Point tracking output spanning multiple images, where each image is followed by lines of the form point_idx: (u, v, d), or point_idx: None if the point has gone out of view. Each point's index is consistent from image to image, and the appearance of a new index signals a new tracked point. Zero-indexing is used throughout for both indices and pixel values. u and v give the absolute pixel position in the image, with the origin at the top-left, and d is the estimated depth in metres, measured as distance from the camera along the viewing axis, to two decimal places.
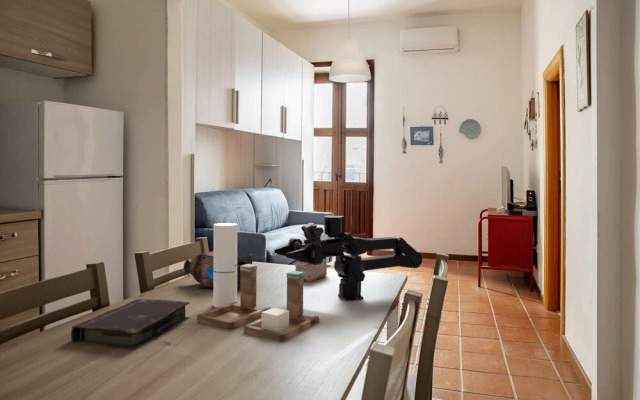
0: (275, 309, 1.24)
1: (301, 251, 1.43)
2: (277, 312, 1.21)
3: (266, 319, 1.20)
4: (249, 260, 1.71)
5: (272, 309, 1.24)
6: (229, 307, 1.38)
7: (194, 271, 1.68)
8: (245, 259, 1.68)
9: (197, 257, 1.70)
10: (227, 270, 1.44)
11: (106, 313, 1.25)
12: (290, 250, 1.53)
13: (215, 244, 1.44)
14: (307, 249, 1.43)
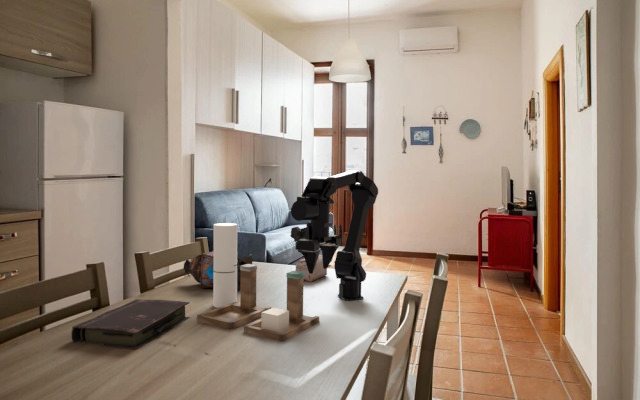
0: (275, 309, 1.24)
1: (306, 258, 1.38)
2: (277, 312, 1.21)
3: (266, 319, 1.20)
4: (249, 260, 1.71)
5: (272, 309, 1.24)
6: (229, 307, 1.38)
7: (194, 271, 1.68)
8: (245, 259, 1.68)
9: (197, 257, 1.70)
10: (227, 270, 1.44)
11: (106, 313, 1.25)
12: (327, 250, 1.47)
13: (215, 244, 1.44)
14: (303, 253, 1.38)
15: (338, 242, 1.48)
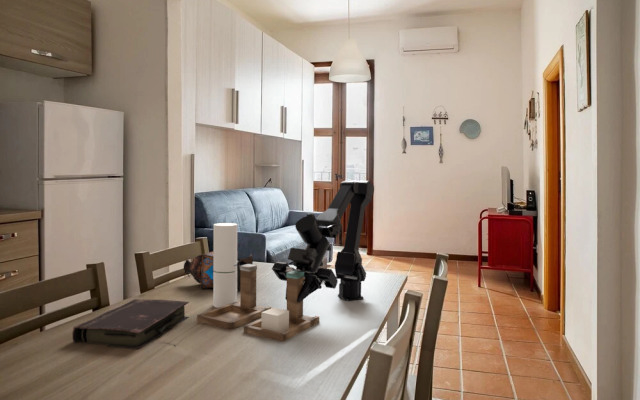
0: (275, 309, 1.24)
1: (307, 286, 1.29)
2: (277, 312, 1.21)
3: (266, 319, 1.20)
4: (250, 260, 1.71)
5: (272, 309, 1.24)
6: (229, 307, 1.38)
7: (194, 271, 1.68)
8: (246, 259, 1.68)
9: (197, 257, 1.69)
10: (227, 270, 1.44)
11: (106, 314, 1.25)
12: None
13: (215, 244, 1.44)
14: (311, 280, 1.29)
15: None
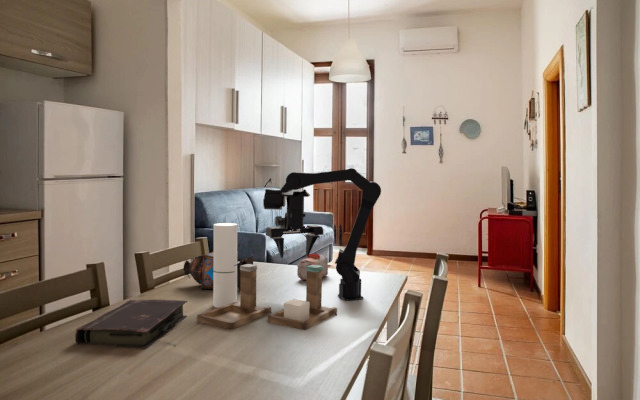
0: (296, 300, 1.32)
1: (276, 244, 1.57)
2: (298, 303, 1.30)
3: (288, 309, 1.29)
4: (250, 260, 1.71)
5: (293, 300, 1.32)
6: (229, 307, 1.38)
7: (195, 272, 1.66)
8: (247, 259, 1.67)
9: (198, 258, 1.68)
10: (227, 270, 1.44)
11: (105, 315, 1.24)
12: (308, 239, 1.61)
13: (215, 244, 1.44)
14: None
15: (318, 232, 1.60)
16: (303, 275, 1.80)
